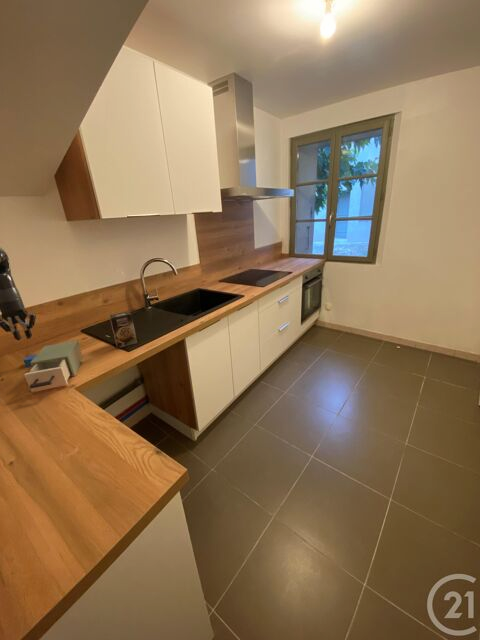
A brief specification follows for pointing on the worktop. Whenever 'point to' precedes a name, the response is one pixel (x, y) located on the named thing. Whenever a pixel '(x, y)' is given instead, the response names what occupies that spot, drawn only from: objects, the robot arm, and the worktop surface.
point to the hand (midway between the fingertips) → (24, 338)
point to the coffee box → (123, 329)
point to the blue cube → (29, 360)
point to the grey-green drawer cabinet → (61, 355)
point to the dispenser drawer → (48, 375)
